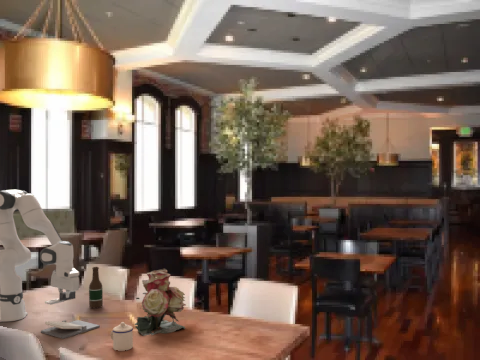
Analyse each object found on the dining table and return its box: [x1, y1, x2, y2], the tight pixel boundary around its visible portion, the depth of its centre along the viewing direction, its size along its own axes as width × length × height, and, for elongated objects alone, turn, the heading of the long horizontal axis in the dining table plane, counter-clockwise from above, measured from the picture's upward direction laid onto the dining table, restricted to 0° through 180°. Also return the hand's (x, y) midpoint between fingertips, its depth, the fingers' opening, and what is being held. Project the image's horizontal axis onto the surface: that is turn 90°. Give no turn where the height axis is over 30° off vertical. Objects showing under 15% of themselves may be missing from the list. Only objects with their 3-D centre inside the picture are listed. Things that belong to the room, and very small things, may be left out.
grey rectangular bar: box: [44, 291, 77, 305], centre depth 267 cm, size 16×5×4 cm, turn 145°
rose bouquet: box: [131, 268, 187, 337], centre depth 257 cm, size 26×29×30 cm
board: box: [40, 319, 100, 340], centre depth 255 cm, size 18×22×3 cm
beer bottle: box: [88, 266, 104, 309], centre depth 300 cm, size 8×8×24 cm
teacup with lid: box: [109, 321, 134, 352], centre depth 227 cm, size 12×9×12 cm
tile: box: [44, 321, 82, 329], centre depth 251 cm, size 12×14×1 cm
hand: (64, 297), depth 268 cm, fingers closed on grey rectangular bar, 3 cm apart
